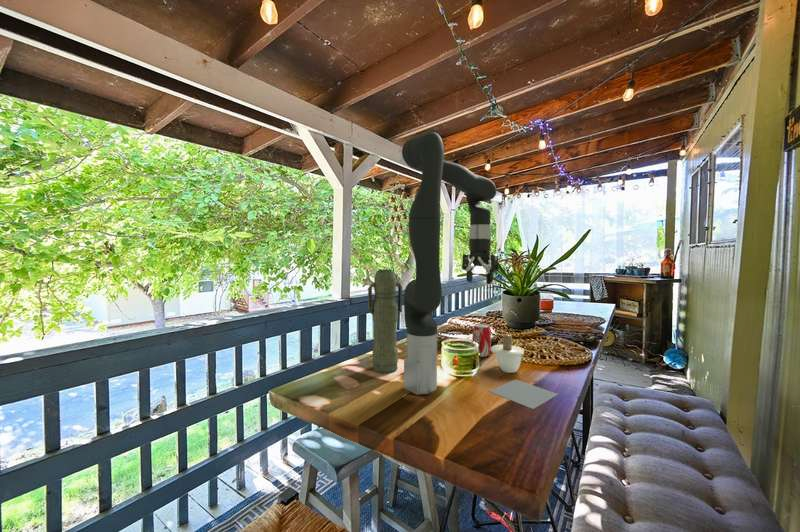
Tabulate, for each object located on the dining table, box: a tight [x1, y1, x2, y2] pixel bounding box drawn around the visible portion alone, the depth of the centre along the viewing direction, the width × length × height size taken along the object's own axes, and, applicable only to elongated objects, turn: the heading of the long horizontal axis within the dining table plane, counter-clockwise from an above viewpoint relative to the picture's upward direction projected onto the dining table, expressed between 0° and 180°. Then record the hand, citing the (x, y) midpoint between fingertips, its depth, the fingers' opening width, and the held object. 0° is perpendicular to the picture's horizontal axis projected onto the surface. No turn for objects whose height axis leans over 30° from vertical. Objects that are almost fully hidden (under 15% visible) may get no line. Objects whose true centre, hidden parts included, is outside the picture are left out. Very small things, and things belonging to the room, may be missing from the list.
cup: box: [495, 354, 522, 374], centre depth 117 cm, size 8×10×7 cm
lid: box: [490, 333, 525, 357], centre depth 117 cm, size 11×11×6 cm
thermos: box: [367, 269, 403, 374], centre depth 118 cm, size 9×12×35 cm
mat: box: [488, 379, 559, 410], centre depth 98 cm, size 14×14×1 cm
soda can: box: [472, 323, 492, 358], centre depth 134 cm, size 7×7×12 cm
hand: (479, 282), depth 122 cm, fingers open, 8 cm apart
